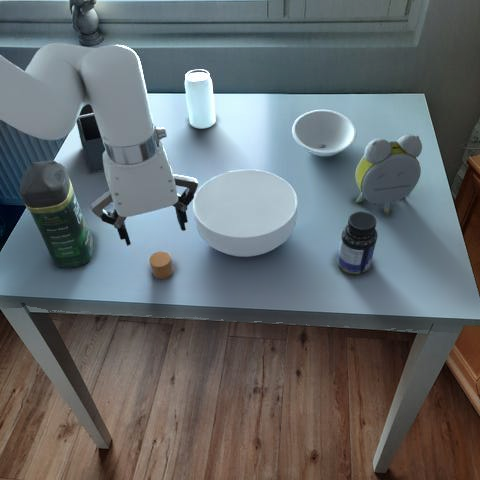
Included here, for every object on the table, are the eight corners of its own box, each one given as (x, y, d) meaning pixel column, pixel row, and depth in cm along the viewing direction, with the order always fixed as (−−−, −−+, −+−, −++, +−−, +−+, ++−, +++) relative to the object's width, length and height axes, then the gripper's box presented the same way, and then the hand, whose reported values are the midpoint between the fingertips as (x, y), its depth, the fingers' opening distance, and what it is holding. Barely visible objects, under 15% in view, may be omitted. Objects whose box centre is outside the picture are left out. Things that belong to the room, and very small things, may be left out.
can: (215, 115, 122) (210, 67, 112) (215, 129, 118) (211, 81, 108) (190, 117, 122) (183, 69, 112) (190, 131, 118) (183, 83, 108)
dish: (358, 171, 105) (361, 151, 101) (293, 173, 105) (294, 154, 101) (348, 127, 115) (351, 108, 111) (289, 129, 116) (290, 110, 112)
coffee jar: (94, 267, 91) (60, 187, 76) (52, 272, 90) (10, 193, 75) (96, 233, 96) (65, 153, 82) (57, 238, 96) (19, 158, 81)
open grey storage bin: (141, 162, 111) (133, 132, 104) (92, 174, 109) (81, 143, 102) (132, 137, 117) (124, 106, 111) (85, 147, 115) (75, 117, 109)
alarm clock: (402, 192, 100) (421, 126, 88) (414, 213, 96) (435, 147, 84) (349, 199, 99) (360, 134, 87) (359, 220, 95) (372, 155, 83)
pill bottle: (358, 249, 90) (369, 204, 82) (376, 271, 87) (388, 225, 78) (330, 259, 89) (337, 214, 80) (346, 281, 86) (356, 236, 77)
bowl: (221, 194, 102) (218, 161, 95) (308, 215, 97) (311, 180, 90) (180, 255, 91) (174, 222, 85) (275, 282, 86) (276, 249, 80)
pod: (155, 282, 88) (151, 269, 85) (151, 267, 90) (147, 254, 87) (176, 276, 88) (173, 263, 85) (171, 262, 91) (168, 248, 88)
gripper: (182, 117, 71) (197, 207, 85) (68, 143, 68) (102, 231, 82) (195, 143, 67) (209, 233, 80) (74, 172, 64) (108, 260, 78)
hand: (155, 232), depth 81 cm, fingers open, 9 cm apart
